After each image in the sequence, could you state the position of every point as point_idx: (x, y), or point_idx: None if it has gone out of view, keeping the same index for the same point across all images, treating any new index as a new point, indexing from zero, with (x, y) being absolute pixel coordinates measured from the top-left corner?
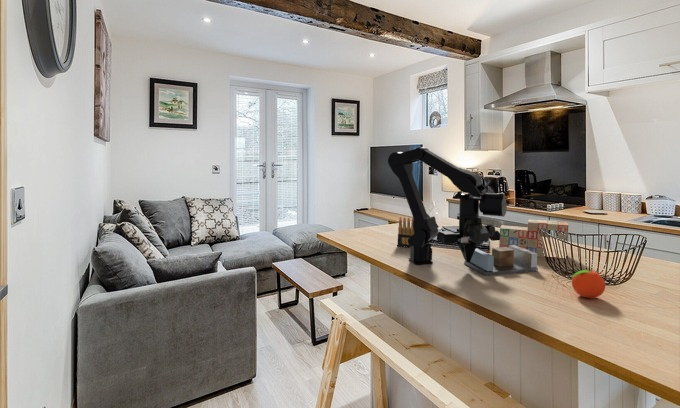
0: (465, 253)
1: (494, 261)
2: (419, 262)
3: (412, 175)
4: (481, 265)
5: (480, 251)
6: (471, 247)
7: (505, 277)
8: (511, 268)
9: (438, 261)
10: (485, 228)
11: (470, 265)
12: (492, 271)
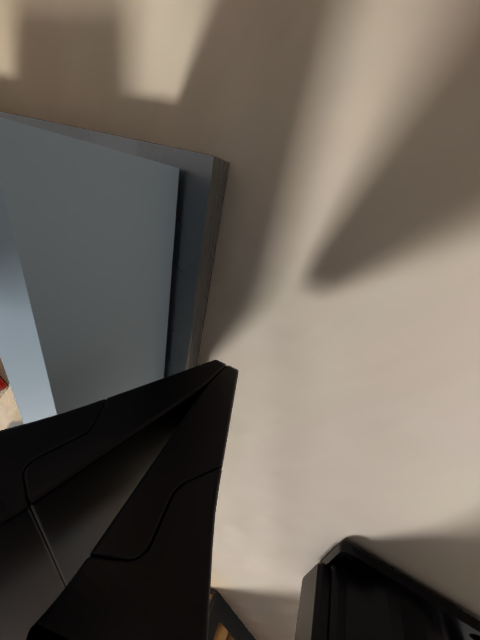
0: (220, 473)
1: None
2: (443, 618)
3: None
4: (156, 272)
5: (22, 377)
6: (25, 522)
7: (111, 37)
8: None
9: (280, 519)
10: None
11: (190, 365)
12: (141, 153)
